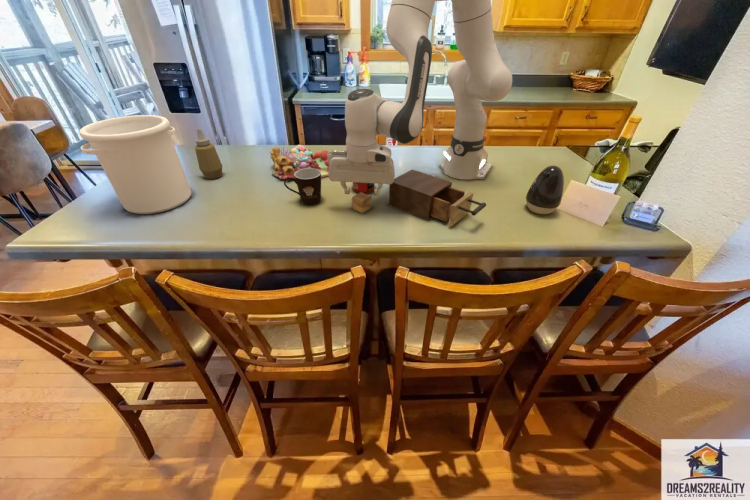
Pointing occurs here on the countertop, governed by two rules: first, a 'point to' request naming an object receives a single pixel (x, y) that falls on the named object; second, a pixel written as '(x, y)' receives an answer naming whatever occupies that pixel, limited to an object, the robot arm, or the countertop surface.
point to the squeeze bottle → (207, 157)
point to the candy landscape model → (298, 161)
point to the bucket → (139, 161)
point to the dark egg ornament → (546, 191)
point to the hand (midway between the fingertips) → (362, 194)
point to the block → (361, 202)
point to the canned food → (363, 187)
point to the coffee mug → (307, 185)
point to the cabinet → (416, 192)
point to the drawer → (453, 205)
